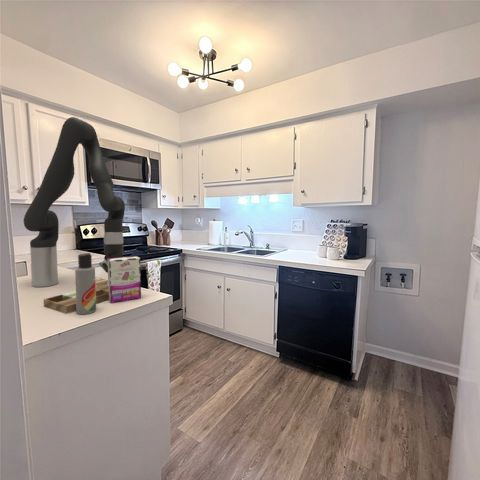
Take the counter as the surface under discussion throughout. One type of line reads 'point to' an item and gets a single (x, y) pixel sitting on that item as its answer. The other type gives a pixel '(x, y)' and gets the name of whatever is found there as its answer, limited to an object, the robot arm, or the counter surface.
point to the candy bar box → (124, 279)
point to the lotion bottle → (85, 285)
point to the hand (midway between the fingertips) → (114, 281)
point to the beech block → (101, 283)
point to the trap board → (72, 300)
